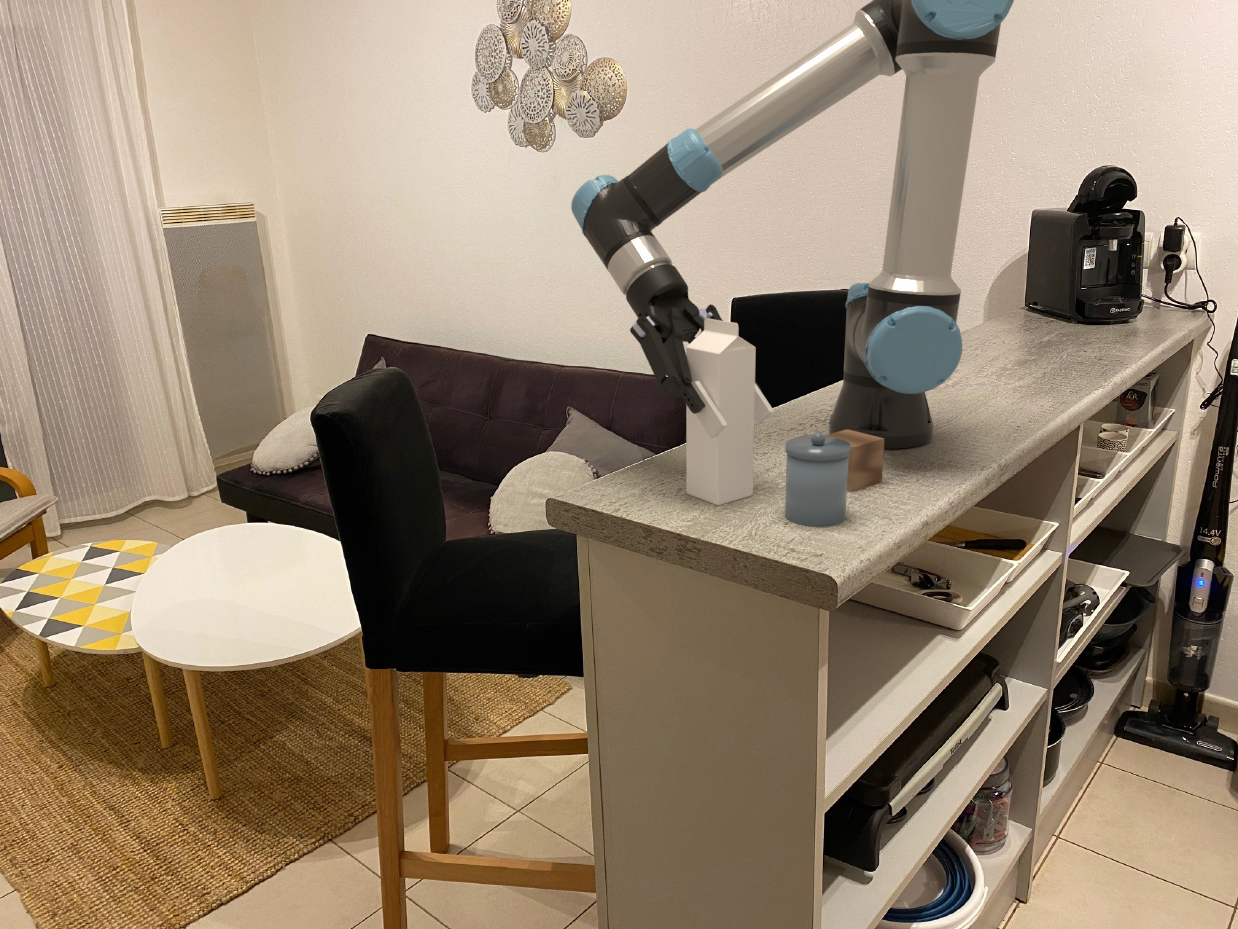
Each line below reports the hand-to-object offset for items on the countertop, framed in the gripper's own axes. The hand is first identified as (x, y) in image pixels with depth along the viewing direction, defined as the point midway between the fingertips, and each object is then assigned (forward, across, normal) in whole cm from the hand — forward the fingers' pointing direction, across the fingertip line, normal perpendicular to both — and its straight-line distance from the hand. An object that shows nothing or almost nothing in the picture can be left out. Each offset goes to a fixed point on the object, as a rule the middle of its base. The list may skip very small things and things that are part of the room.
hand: (743, 424), depth 116 cm
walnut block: (+11, -15, -3) cm, 19 cm away
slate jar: (+14, -2, 0) cm, 14 cm away
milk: (+5, +1, -9) cm, 10 cm away
